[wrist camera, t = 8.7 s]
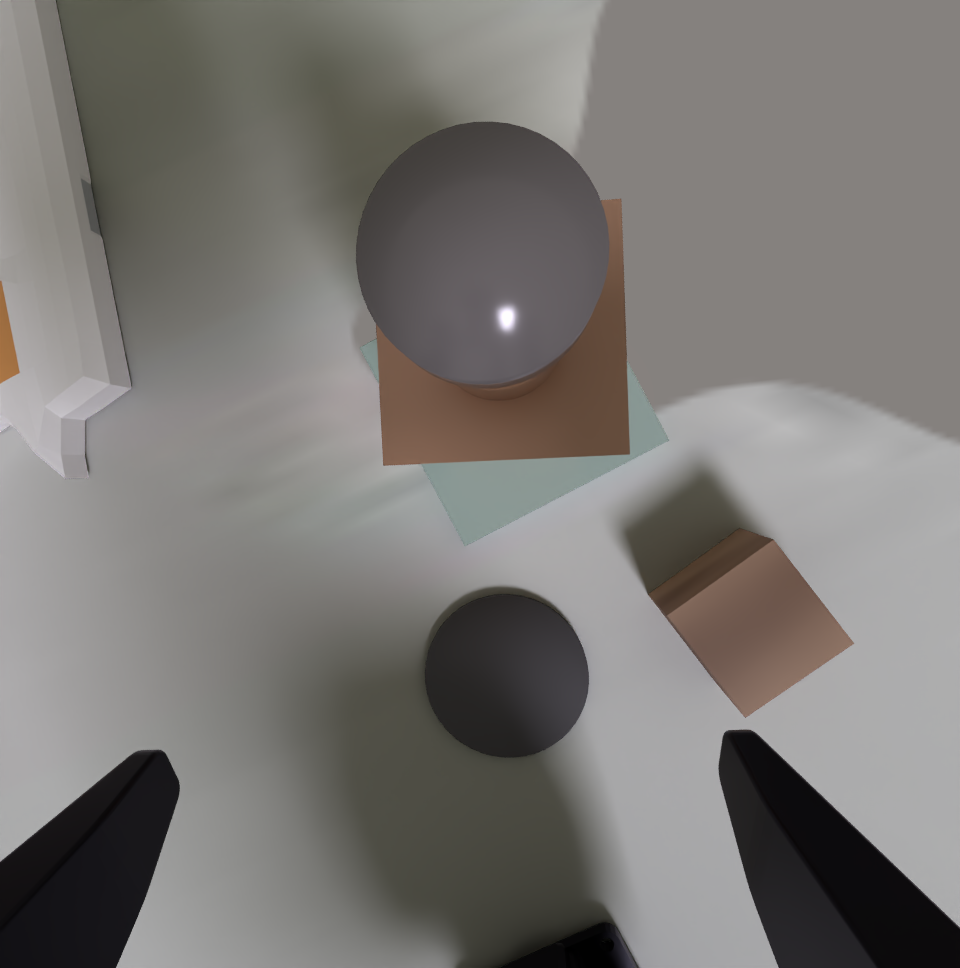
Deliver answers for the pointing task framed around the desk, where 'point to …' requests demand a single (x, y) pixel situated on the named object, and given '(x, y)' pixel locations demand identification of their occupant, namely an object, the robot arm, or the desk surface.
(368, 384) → the desk surface
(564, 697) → the dark grey puck
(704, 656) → the walnut block
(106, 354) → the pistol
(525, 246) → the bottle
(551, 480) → the mat
